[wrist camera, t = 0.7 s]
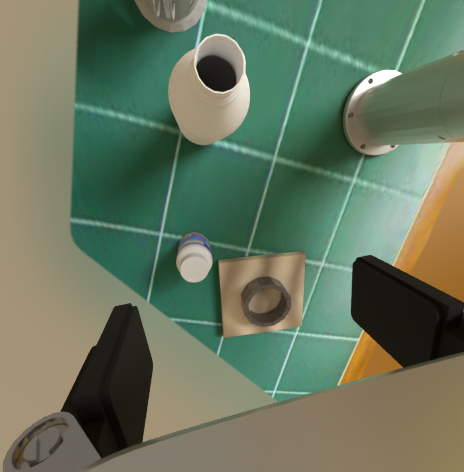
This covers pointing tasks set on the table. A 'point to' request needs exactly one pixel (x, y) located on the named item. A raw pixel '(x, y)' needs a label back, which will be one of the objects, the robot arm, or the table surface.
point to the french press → (172, 13)
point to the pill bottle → (194, 257)
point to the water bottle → (210, 90)
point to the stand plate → (246, 270)
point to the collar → (271, 316)
